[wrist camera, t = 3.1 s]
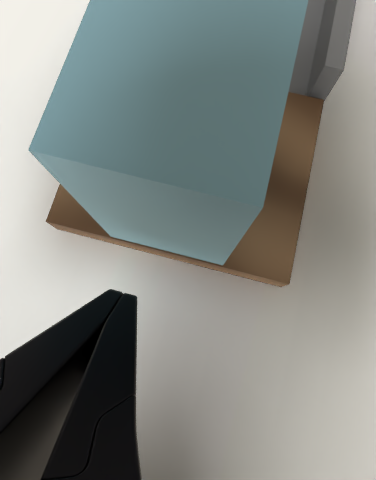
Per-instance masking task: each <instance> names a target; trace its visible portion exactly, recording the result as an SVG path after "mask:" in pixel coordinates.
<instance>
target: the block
mask: <svg viewBox="0 0 376 480" xmlns="http://www.w3.org/2000/svg"><path fill="white" fill-rule="evenodd" d="M307 4H308V0H90V2H89V4H88V7H87V9H86V12H85V14H84V16H83V19H82V21H81V24H80V26H79V29H78V31H77V33H76V36H75V38H74V41H73V43H72V46H71V48H70V50H69V53H68V55H67V58H66V60H65V62H64V65H63V67H62V70H61V72H60V75H59V77H58V79H57V82H56V84H55V87H54V89H53V92H52V94H51V96H50V99H49V101H48V104H47V106H46V109H45V111H44V113H43V116H42V118H41V121H40V123H39V125H38V128H37V130H36V133H35V135H34V138H33V140H32V142H31V145H30V147H29V151H30V152H31V153H32V154H33V155H34V156H35V158H36V159H37V160H38V161H39V162H40V163H41V164H42V165H43V166H44V167H45V168H46V169H47V170H48V171H49V172H50V173H51V174H52V175H53V176H54V178H55V179H56V180H57V181H58V182H59V183H60V184H61V185H62V186H63V187H64V188H65V189H66V190H67V191H68V192H69V193H70V194H71V195H72V196H73V198H74V199H75V200H76V201H77V202H78V203H79V204H80V205H81V206H82V207H83V208H84V209H85V210H86V211H87V212H88V213H89V214H90V215H91V216H92V218H93V219H94V220H95V221H96V222H97V223H98V224H99V225H100V226H101V227H102V228H103V229H104V230H105V231H106V232H107V233H108V234H109V235H110V236H111V237H114V238H118V239H122V240H126V241H130V242H134V243H138V244H141V245H145V246H149V247H153V248H157V249H161V250H165V251H169V252H172V253H176V254H180V255H184V256H188V257H192V258H196V259H200V260H203V261H207V262H211V263H215V264H219V265H224V263H225V262H226V260H227V259H228V257H229V256H230V254H231V253H232V252H233V250H234V249H235V247H236V246H237V244H238V243H239V242H240V240H241V239H242V237H243V236H244V234H245V233H246V231H247V230H248V229H249V227H250V226H251V224H252V223H253V221H254V220H255V219H256V217H257V216H258V214H259V213H260V211H261V210H262V208H263V206H264V201H265V196H266V192H267V187H268V183H269V178H270V174H271V169H272V164H273V160H274V155H275V151H276V146H277V142H278V137H279V132H280V128H281V123H282V119H283V114H284V110H285V105H286V100H287V96H288V91H289V87H290V82H291V78H292V73H293V68H294V64H295V59H296V55H297V50H298V46H299V41H300V36H301V32H302V27H303V23H304V18H305V14H306V9H307Z"/></svg>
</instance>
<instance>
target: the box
mask: <svg viewBox="0 0 376 480" xmlns="http://www.w3.org/2000/svg"><path fill="white" fill-rule="evenodd" d="M355 4H356V0H308V4H307V9H306V14H305V18H304V23H303V27H302V32H301V36H300V41H299V46H298V50H297V55H296V59H295V64H294V68H293V73H292V78H291V82H290V87H289V91H288V92H291V93H296V94H300V95H305V96H309V97H314V98H318V99H323V100H325V99H326V97H327V96H328V94H329V92H330V91H331V89H332V88H333V86H334V85H335V83H336V81H337V80H338V78H339V77H340V75H341V74H342V72H343V70H344V66H345V60H346V55H347V49H348V43H349V38H350V32H351V26H352V21H353V15H354V9H355Z"/></svg>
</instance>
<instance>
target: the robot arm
mask: <svg viewBox="0 0 376 480" xmlns="http://www.w3.org/2000/svg"><path fill="white" fill-rule="evenodd" d="M136 357H137V297H136V296H134V295H131V294H127V293H124V294H123V293H122V292H120V291H116V290H112V289H110V290H108V291H106V292H104V293H103V294H101V295H100V296H98V297H97V298H95V299H94V300H92V301H90V302H89V303H87V304H86V305H84V306H83V307H81V308H80V309H78V310H76V311H75V312H73V313H72V314H70V315H69V316H67V317H66V318H64V319H62V320H61V321H59V322H58V323H56V324H55V325H53V326H51V327H50V328H48V329H47V330H45V331H44V332H42V333H41V334H39V335H37V336H36V337H34V338H33V339H31V340H30V341H28V342H27V343H25V344H23V345H22V346H20V347H19V348H17V349H16V350H14V351H13V352H11V353H9V354H8V355H6V356H5V359H4V358H1V359H0V480H142V478H141V470H140V463H139V454H138V444H137V433H136Z"/></svg>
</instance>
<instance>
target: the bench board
mask: <svg viewBox="0 0 376 480" xmlns="http://www.w3.org/2000/svg"><path fill="white" fill-rule="evenodd" d="M323 102H324V100H323V99H318V98H314V97H309V96H305V95H300V94H296V93H291V92H288V96H287V100H286V105H285V110H284V114H283V119H282V123H281V128H280V132H279V137H278V142H277V146H276V151H275V155H274V160H273V164H272V169H271V174H270V178H269V183H268V187H267V192H266V196H265V201H264V206H263V208H262V210H261V211H260V213H259V214H258V216H257V217H256V219H255V220H254V221H253V223H252V224H251V226H250V227H249V229H248V230H247V231H246V233H245V234H244V236H243V237H242V239H241V240H240V242H239V243H238V244H237V246H236V247H235V249H234V250H233V252H232V253H231V254H230V256H229V257H228V259H227V260H226V262H225V263H224V265H219V264H215V263H211V262H207V261H203V260H200V259H196V258H192V257H188V256H184V255H180V254H176V253H172V252H169V251H165V250H161V249H157V248H153V247H149V246H145V245H141V244H138V243H134V242H130V241H126V240H122V239H118V238H114V237H111V236H110V235H109V234H108V233H107V232H106V231H105V230H104V229H103V228H102V227H101V226H100V225H99V224H98V223H97V222H96V221H95V220H94V219H93V218H92V216H91V215H90V214H89V213H88V212H87V211H86V210H85V209H84V208H83V207H82V206H81V205H80V204H79V203H78V202H77V201H76V200H75V199H74V198H73V196H72V195H71V194H70V193H69V192H68V191H67V190H66V189H65V188H64V187H63V186H62V185H61V184H60V185H59V188H58V191H57V193H56V196H55V198H54V201H53V204H52V206H51V209H50V212H49V214H48V217H47V220H46V222H47V223H49V224H50V225H52V226H53V227H55V228H56V229H59V230H63V231H67V232H71V233H75V234H78V235H82V236H86V237H90V238H94V239H98V240H102V241H106V242H109V243H113V244H117V245H121V246H125V247H129V248H133V249H136V250H140V251H144V252H148V253H152V254H156V255H160V256H163V257H167V258H171V259H175V260H179V261H183V262H187V263H190V264H194V265H198V266H202V267H206V268H210V269H214V270H217V271H221V272H225V273H229V274H233V275H237V276H241V277H245V278H248V279H252V280H256V281H260V282H264V283H268V284H272V285H275V286H279V287H282V286H285V285H288V284H289V283H290V278H291V272H292V267H293V262H294V256H295V251H296V246H297V240H298V235H299V230H300V224H301V219H302V214H303V209H304V203H305V198H306V193H307V187H308V182H309V177H310V171H311V166H312V161H313V155H314V150H315V145H316V140H317V134H318V129H319V124H320V118H321V113H322V108H323Z"/></svg>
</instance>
